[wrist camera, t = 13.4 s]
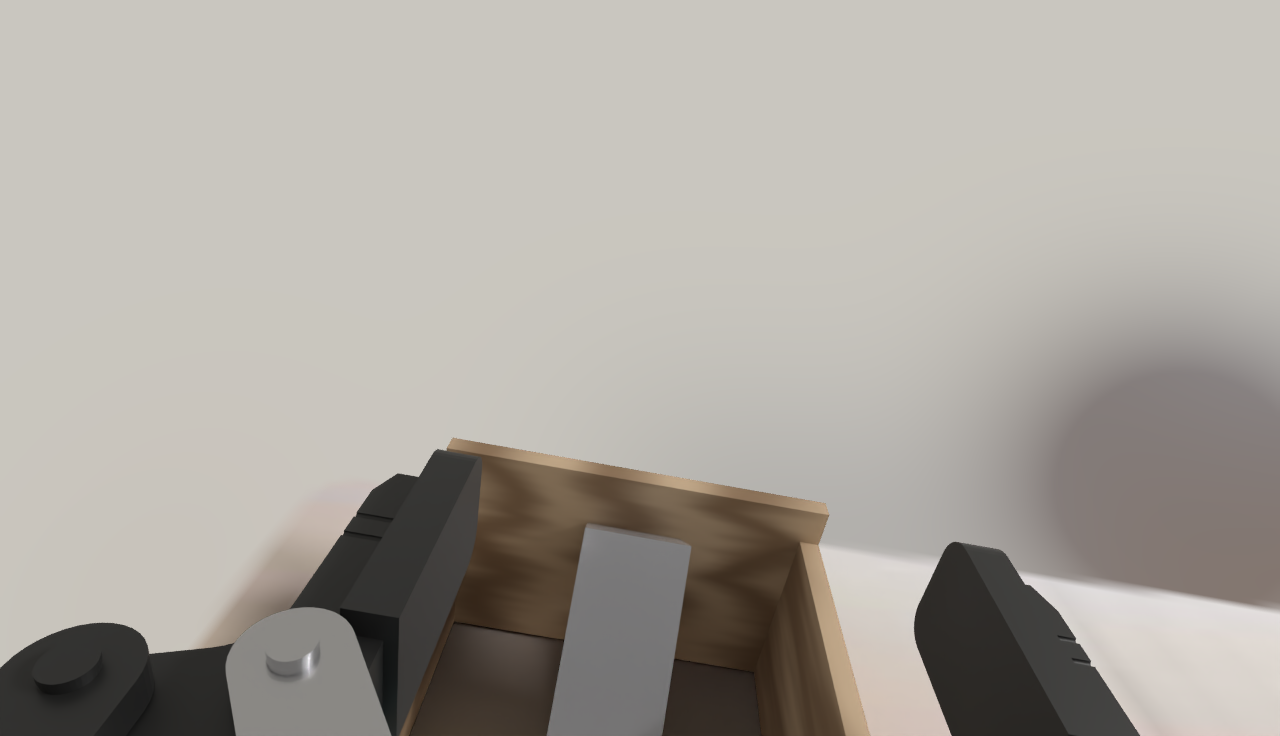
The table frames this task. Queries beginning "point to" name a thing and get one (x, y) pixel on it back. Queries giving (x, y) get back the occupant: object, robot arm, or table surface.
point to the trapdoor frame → (715, 586)
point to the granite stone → (620, 634)
